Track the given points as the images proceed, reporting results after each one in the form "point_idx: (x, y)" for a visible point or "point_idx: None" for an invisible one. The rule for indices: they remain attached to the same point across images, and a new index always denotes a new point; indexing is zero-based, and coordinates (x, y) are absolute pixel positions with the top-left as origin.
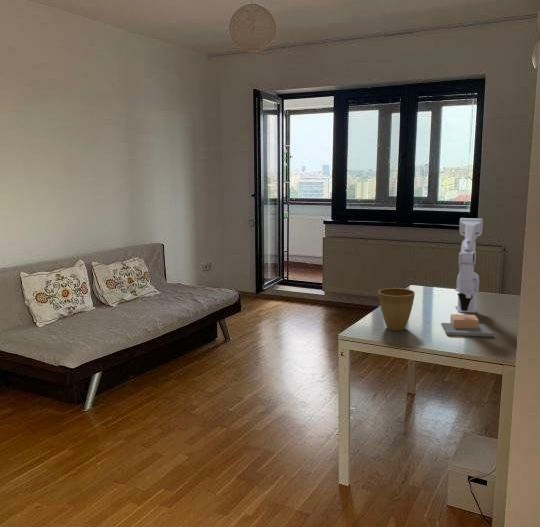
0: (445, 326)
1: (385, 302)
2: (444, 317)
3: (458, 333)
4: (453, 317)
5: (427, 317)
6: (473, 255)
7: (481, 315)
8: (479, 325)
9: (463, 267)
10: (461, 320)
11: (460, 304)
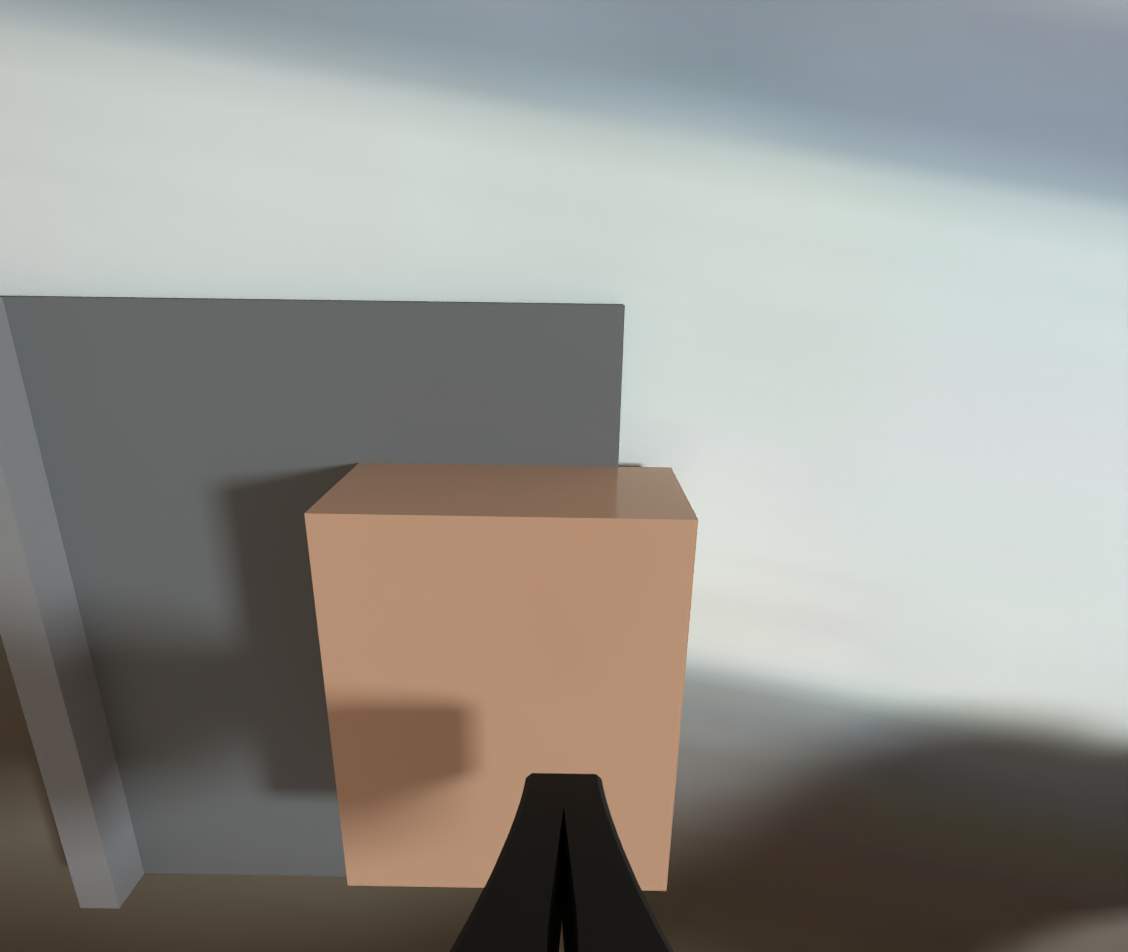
0: (406, 344)
1: None
2: (1017, 431)
3: None
4: (455, 531)
5: (1058, 103)
6: None
7: (1050, 918)
8: None
9: None
10: (325, 637)
11: (619, 867)
